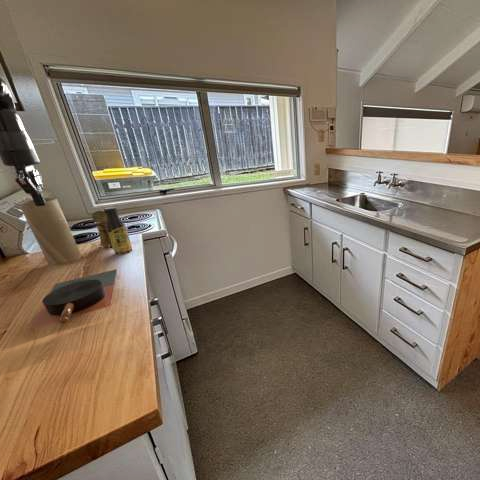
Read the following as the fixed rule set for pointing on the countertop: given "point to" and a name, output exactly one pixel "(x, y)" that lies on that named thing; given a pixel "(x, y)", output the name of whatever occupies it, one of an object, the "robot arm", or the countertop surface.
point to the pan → (73, 298)
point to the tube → (51, 231)
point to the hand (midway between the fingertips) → (41, 205)
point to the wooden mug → (102, 228)
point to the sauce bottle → (117, 232)
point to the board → (108, 285)
